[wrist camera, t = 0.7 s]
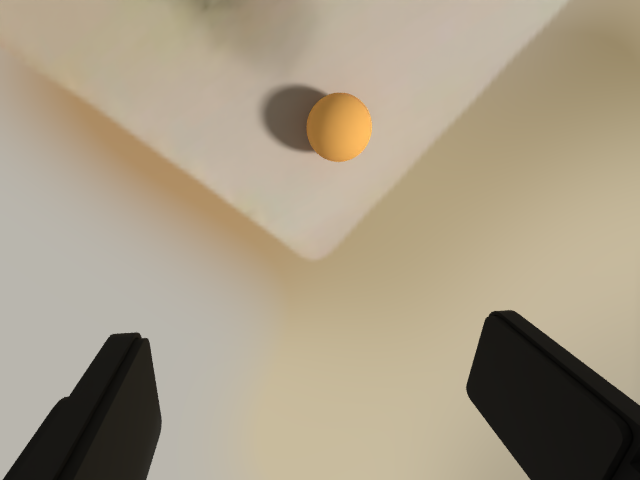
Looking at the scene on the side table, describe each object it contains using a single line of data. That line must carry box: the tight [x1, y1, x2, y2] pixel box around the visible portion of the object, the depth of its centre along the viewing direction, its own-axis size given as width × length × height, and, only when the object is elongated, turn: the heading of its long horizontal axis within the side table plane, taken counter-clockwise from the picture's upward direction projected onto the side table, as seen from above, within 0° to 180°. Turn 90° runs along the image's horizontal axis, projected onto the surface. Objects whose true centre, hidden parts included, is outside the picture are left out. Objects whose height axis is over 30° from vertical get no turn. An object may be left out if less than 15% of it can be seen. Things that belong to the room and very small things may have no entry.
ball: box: [307, 93, 372, 162], centre depth 27 cm, size 6×6×6 cm
